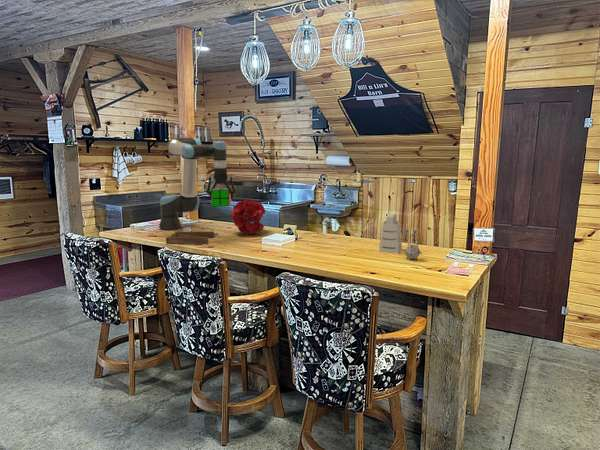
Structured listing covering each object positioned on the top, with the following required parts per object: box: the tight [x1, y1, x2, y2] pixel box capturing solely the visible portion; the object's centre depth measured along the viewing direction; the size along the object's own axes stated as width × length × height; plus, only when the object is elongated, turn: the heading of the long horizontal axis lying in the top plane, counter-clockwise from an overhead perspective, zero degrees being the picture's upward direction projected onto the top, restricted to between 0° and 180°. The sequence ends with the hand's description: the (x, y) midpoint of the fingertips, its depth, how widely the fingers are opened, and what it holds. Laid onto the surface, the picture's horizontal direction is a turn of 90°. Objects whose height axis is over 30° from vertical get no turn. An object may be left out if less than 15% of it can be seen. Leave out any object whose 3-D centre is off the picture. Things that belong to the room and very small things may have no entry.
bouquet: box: [230, 198, 267, 235], centre depth 286 cm, size 22×24×30 cm
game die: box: [402, 243, 422, 261], centre depth 215 cm, size 9×8×10 cm
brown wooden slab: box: [165, 231, 215, 246], centre depth 262 cm, size 19×24×4 cm
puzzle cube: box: [210, 187, 231, 208], centre depth 258 cm, size 10×10×10 cm
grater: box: [378, 213, 403, 254], centre depth 233 cm, size 10×10×20 cm
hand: (221, 204), depth 259 cm, fingers closed on puzzle cube, 10 cm apart
